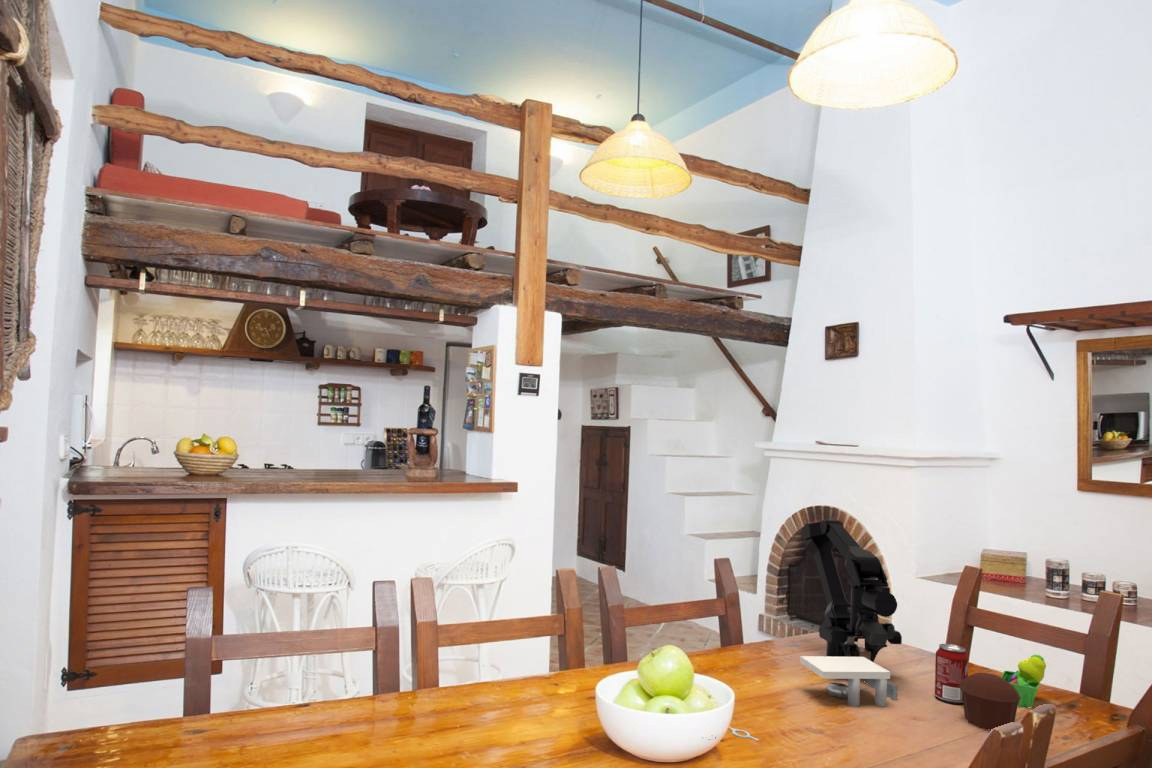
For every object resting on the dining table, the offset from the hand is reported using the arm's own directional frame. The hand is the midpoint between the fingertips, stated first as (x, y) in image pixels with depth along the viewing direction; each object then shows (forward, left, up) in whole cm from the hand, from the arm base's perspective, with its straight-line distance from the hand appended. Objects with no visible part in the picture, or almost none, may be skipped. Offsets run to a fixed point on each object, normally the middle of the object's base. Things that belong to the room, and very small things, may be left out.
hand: (860, 670), depth 189 cm
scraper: (+7, 0, -2) cm, 7 cm away
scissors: (+27, -48, -2) cm, 55 cm away
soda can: (+15, +14, -2) cm, 21 cm away
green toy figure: (+16, +32, -2) cm, 36 cm away
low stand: (+14, -12, -2) cm, 18 cm away
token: (+12, -12, -2) cm, 17 cm away
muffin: (+29, +13, -2) cm, 32 cm away
